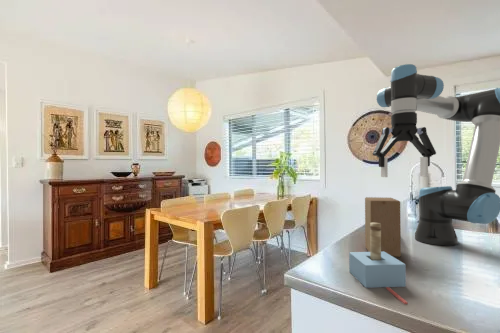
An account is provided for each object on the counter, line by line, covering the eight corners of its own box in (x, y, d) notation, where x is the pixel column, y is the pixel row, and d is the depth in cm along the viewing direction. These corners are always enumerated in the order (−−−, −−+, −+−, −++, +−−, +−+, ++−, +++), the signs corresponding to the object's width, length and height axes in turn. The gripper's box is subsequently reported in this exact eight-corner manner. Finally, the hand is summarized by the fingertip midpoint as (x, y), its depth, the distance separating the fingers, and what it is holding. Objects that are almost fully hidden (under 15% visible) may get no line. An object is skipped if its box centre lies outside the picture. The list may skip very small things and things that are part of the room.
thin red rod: (389, 288, 73) (389, 287, 73) (407, 304, 65) (407, 302, 65) (386, 288, 73) (386, 287, 73) (404, 304, 65) (404, 302, 65)
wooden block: (401, 257, 97) (400, 200, 97) (371, 255, 99) (370, 200, 99) (392, 248, 107) (392, 197, 107) (365, 247, 109) (364, 197, 109)
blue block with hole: (384, 270, 85) (384, 251, 85) (405, 286, 74) (405, 264, 74) (349, 271, 85) (349, 252, 85) (365, 287, 74) (365, 265, 74)
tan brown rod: (378, 276, 81) (377, 222, 81) (383, 280, 78) (382, 224, 78) (368, 276, 81) (368, 222, 81) (373, 280, 78) (372, 224, 78)
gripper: (432, 115, 96) (432, 175, 96) (361, 115, 95) (362, 176, 95) (448, 110, 88) (449, 176, 88) (372, 111, 87) (373, 177, 87)
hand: (404, 176), depth 92 cm, fingers open, 13 cm apart
